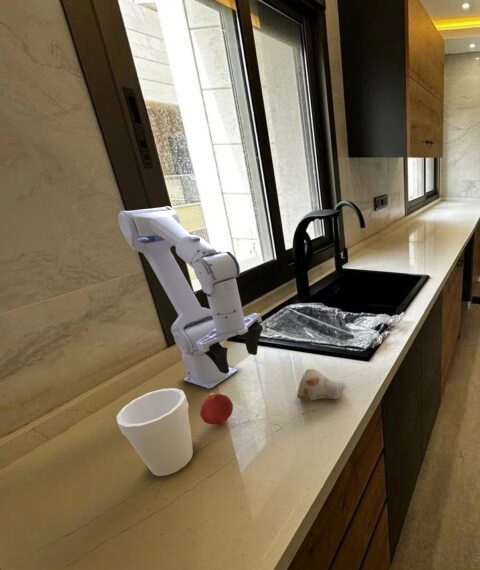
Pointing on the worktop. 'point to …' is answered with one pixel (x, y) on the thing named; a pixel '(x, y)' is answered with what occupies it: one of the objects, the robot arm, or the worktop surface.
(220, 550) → the worktop surface
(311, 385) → the white spotted tapered part
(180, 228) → the robot arm
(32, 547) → the worktop surface
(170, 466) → the foam cup
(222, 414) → the red round piece
